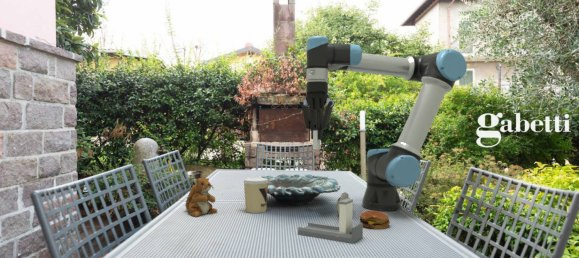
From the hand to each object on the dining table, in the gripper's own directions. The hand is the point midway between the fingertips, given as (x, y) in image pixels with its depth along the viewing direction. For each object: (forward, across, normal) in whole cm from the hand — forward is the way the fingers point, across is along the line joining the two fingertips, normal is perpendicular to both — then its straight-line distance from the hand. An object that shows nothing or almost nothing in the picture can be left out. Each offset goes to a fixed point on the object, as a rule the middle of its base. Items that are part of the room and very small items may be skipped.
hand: (316, 148), depth 148 cm
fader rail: (+24, +14, -18) cm, 33 cm away
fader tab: (+23, +19, -18) cm, 35 cm away
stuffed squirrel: (+25, -41, -15) cm, 50 cm away
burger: (+25, +21, +1) cm, 33 cm away
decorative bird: (+25, +7, +8) cm, 27 cm away
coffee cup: (+25, -25, -1) cm, 35 cm away
